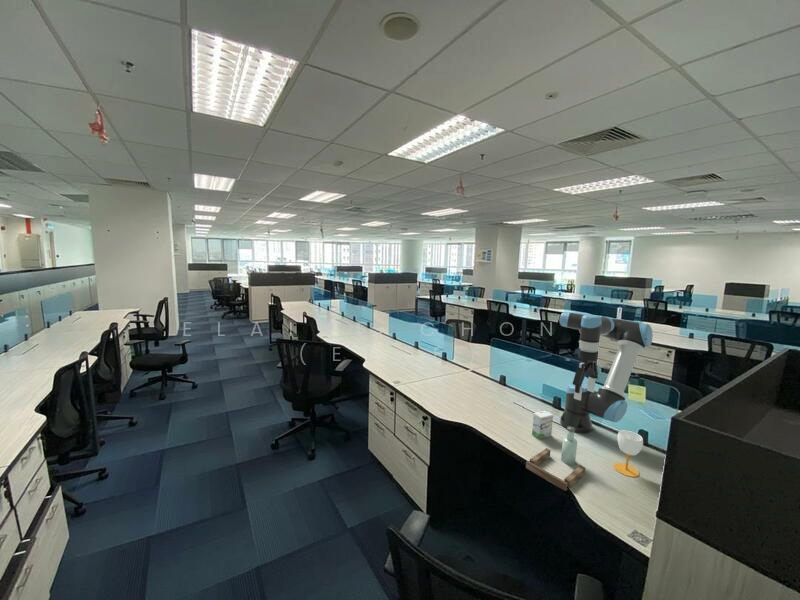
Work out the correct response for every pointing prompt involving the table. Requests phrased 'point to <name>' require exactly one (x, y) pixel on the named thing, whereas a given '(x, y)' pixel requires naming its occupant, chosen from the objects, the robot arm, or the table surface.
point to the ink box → (542, 424)
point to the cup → (628, 451)
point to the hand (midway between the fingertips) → (584, 395)
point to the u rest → (548, 476)
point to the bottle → (569, 447)
